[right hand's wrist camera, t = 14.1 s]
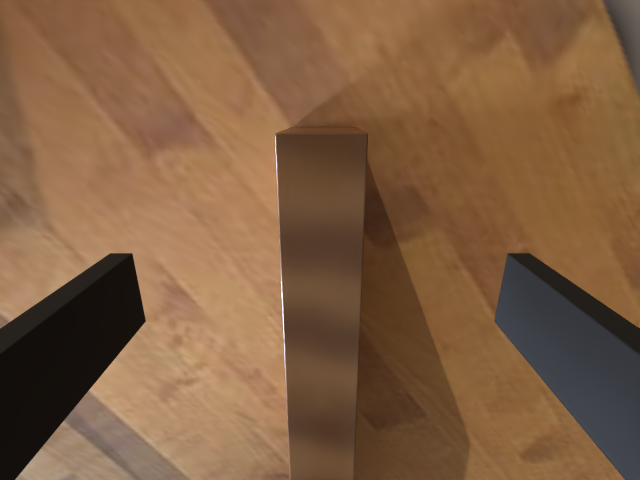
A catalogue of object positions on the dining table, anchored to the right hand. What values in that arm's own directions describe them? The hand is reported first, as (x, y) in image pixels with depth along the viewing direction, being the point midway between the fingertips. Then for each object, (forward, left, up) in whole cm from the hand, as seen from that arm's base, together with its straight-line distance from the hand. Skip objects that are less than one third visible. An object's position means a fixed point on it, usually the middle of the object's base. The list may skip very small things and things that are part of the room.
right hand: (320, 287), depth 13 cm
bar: (-8, -25, -15) cm, 30 cm away
